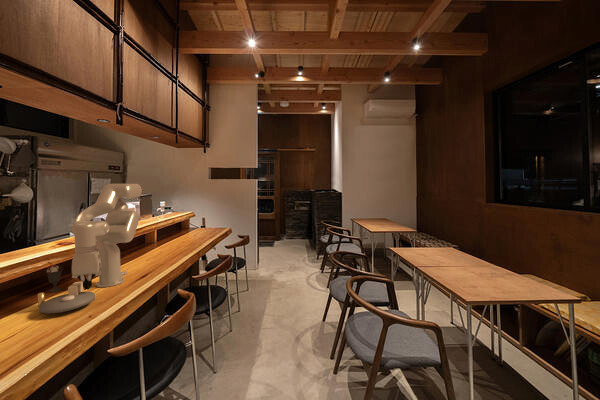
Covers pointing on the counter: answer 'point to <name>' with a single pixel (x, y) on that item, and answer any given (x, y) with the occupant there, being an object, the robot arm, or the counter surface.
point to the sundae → (54, 276)
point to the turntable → (68, 300)
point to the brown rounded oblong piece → (43, 300)
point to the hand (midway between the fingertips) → (87, 288)
